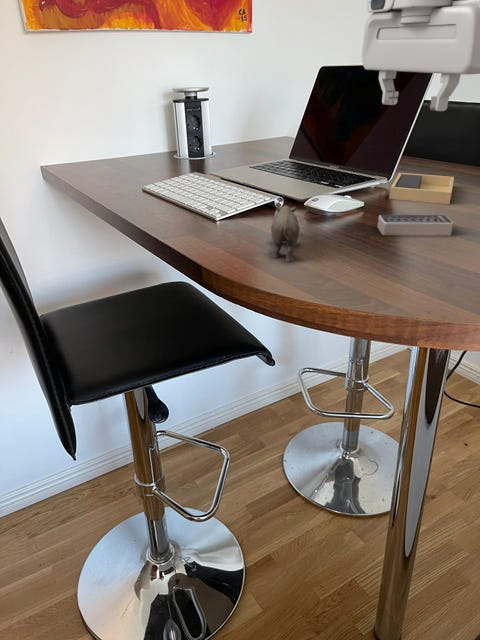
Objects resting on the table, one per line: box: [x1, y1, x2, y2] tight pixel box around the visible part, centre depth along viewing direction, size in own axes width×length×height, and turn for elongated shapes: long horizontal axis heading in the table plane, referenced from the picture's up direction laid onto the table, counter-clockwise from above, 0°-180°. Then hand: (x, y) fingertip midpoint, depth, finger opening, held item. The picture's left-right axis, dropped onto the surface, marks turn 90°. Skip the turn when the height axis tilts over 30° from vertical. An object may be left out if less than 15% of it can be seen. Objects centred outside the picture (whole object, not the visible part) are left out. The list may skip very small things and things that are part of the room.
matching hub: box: [396, 174, 422, 189], centre depth 103 cm, size 11×4×2 cm, turn 158°
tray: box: [388, 172, 455, 205], centre depth 102 cm, size 14×11×2 cm
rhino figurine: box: [270, 204, 300, 263], centre depth 75 cm, size 4×14×6 cm, turn 175°
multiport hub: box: [376, 214, 454, 236], centre depth 81 cm, size 4×11×2 cm, turn 88°
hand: (412, 107), depth 72 cm, fingers open, 8 cm apart
